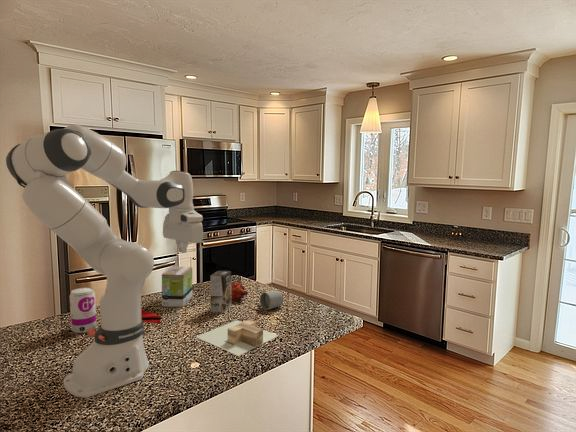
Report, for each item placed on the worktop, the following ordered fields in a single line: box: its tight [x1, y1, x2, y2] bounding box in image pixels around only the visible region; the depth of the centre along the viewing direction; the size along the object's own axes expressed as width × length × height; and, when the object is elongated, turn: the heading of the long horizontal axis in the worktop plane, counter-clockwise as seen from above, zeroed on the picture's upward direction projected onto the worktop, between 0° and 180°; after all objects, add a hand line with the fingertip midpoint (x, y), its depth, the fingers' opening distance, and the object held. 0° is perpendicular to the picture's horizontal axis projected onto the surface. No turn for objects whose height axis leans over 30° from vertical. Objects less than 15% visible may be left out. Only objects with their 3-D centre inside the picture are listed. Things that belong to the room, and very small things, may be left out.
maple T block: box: [228, 319, 264, 347], centre depth 131 cm, size 11×10×4 cm
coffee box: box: [209, 270, 232, 313], centre depth 161 cm, size 9×6×16 cm
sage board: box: [195, 320, 280, 357], centre depth 134 cm, size 20×22×1 cm
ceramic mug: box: [259, 290, 284, 311], centre depth 166 cm, size 11×8×8 cm
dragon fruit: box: [231, 281, 248, 302], centre depth 176 cm, size 8×8×12 cm
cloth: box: [141, 308, 164, 324], centre depth 154 cm, size 26×14×2 cm, turn 39°
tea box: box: [161, 266, 193, 308], centre depth 171 cm, size 15×10×15 cm
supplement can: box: [68, 287, 97, 334], centre depth 139 cm, size 8×8×15 cm
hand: (182, 252), depth 139 cm, fingers closed
